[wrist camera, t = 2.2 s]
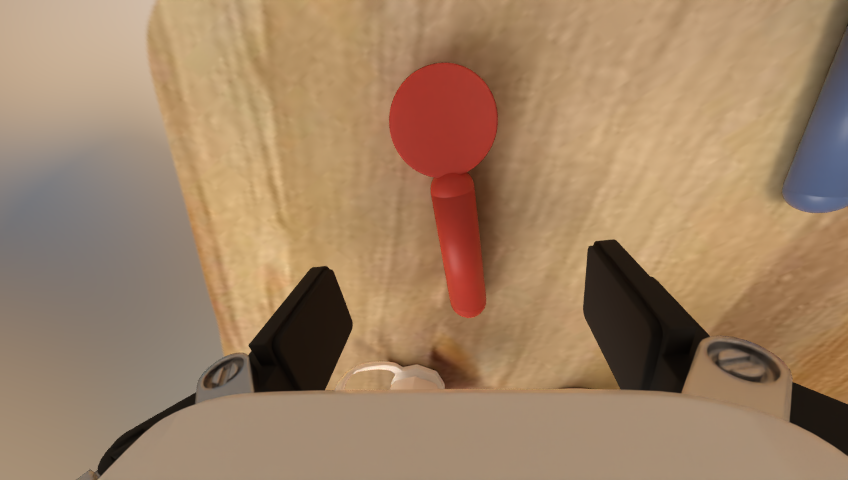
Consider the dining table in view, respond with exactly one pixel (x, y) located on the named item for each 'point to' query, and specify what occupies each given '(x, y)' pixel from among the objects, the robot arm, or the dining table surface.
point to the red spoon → (449, 164)
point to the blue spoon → (824, 146)
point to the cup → (400, 376)
